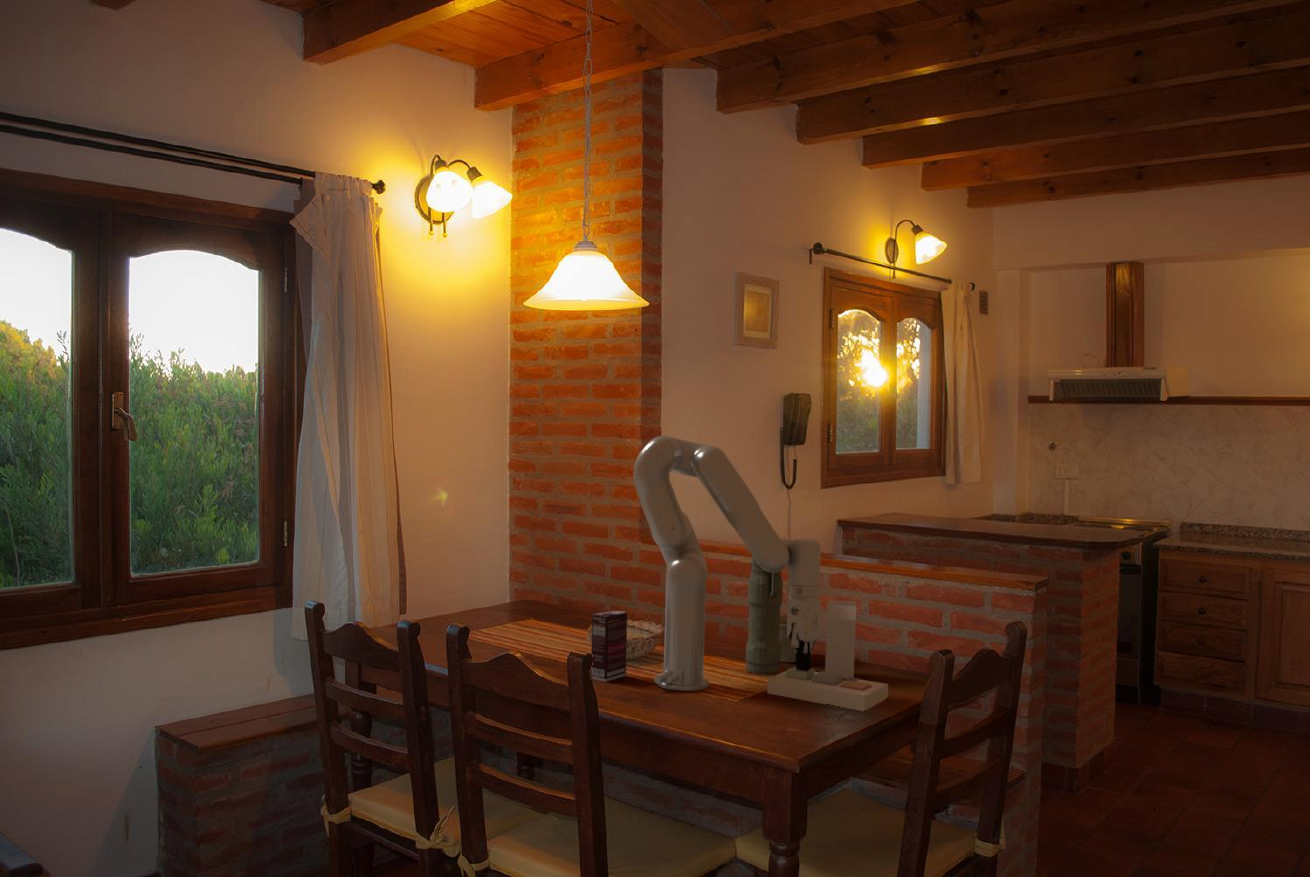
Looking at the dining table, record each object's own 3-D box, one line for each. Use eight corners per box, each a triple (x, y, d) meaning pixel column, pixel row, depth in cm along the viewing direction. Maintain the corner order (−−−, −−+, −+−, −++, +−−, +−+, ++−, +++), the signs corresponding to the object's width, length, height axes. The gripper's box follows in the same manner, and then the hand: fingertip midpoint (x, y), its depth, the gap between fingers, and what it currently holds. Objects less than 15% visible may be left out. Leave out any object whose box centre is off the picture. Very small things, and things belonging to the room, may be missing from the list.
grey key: (833, 688, 230) (833, 678, 230) (813, 685, 233) (813, 674, 233) (842, 684, 235) (842, 674, 235) (822, 681, 237) (822, 670, 237)
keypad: (864, 711, 221) (864, 694, 221) (767, 693, 235) (767, 676, 235) (887, 699, 233) (888, 682, 233) (794, 682, 246) (794, 666, 246)
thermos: (761, 677, 250) (766, 537, 250) (735, 667, 261) (740, 532, 261) (790, 674, 254) (795, 536, 254) (764, 664, 265) (768, 532, 265)
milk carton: (853, 679, 251) (856, 604, 251) (824, 677, 253) (827, 602, 253) (853, 673, 258) (856, 599, 258) (825, 671, 260) (828, 598, 260)
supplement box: (611, 673, 250) (613, 609, 250) (626, 676, 247) (628, 612, 247) (589, 679, 243) (591, 613, 243) (604, 682, 240) (607, 616, 240)
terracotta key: (861, 699, 227) (862, 688, 227) (841, 695, 229) (841, 684, 229) (870, 695, 231) (870, 684, 231) (849, 691, 233) (850, 680, 233)
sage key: (805, 683, 234) (805, 673, 234) (786, 680, 237) (786, 669, 237) (814, 680, 239) (814, 669, 239) (795, 676, 241) (795, 666, 241)
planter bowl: (807, 652, 282) (808, 614, 282) (827, 666, 266) (828, 625, 266) (752, 653, 279) (753, 614, 279) (768, 666, 263) (769, 624, 263)
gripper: (804, 597, 230) (803, 677, 230) (831, 589, 242) (831, 665, 242) (775, 594, 234) (774, 672, 234) (803, 586, 246) (802, 661, 246)
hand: (803, 669), depth 238 cm, fingers closed
